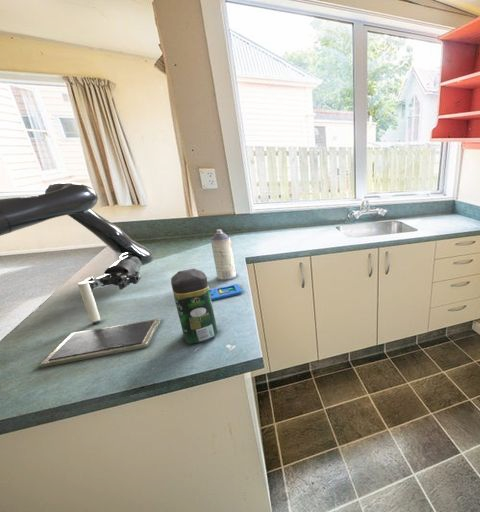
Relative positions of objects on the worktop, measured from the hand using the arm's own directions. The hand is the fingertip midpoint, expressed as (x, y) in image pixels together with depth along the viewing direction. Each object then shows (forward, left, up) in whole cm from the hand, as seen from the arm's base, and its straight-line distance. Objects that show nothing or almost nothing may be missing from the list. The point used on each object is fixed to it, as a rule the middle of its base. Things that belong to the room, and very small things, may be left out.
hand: (103, 288), depth 93 cm
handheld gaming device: (+31, -2, -7) cm, 32 cm away
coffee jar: (+29, -29, -7) cm, 41 cm away
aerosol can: (+33, +15, -7) cm, 37 cm away
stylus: (0, -10, -7) cm, 12 cm away
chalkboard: (+7, -23, -7) cm, 25 cm away
